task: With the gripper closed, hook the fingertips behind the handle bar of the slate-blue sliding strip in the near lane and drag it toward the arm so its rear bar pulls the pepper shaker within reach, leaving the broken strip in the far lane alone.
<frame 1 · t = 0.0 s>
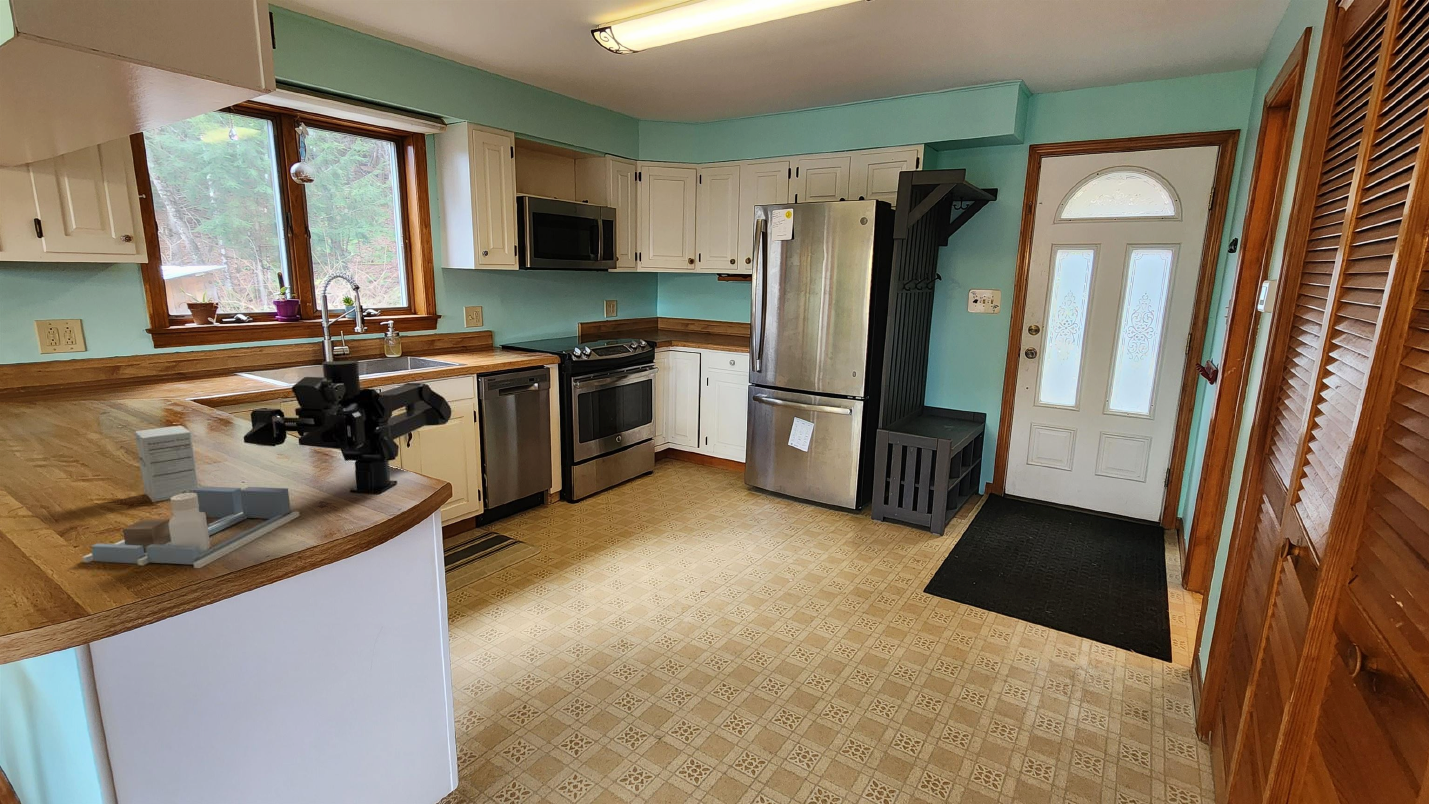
hand: (272, 440, 103), 17 cm above the counter, tool horizontal, fingers open, 9 cm apart
strip b broken: (175, 535, 106), on the counter
lane rails: (201, 536, 105), on the counter
walnut cube: (150, 547, 101), on the counter
pepper shaker: (193, 555, 99), resting in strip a
supplement box: (172, 494, 125), on the counter
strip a: (224, 522, 105), point 3 cm above the counter, slide at 0.0 cm
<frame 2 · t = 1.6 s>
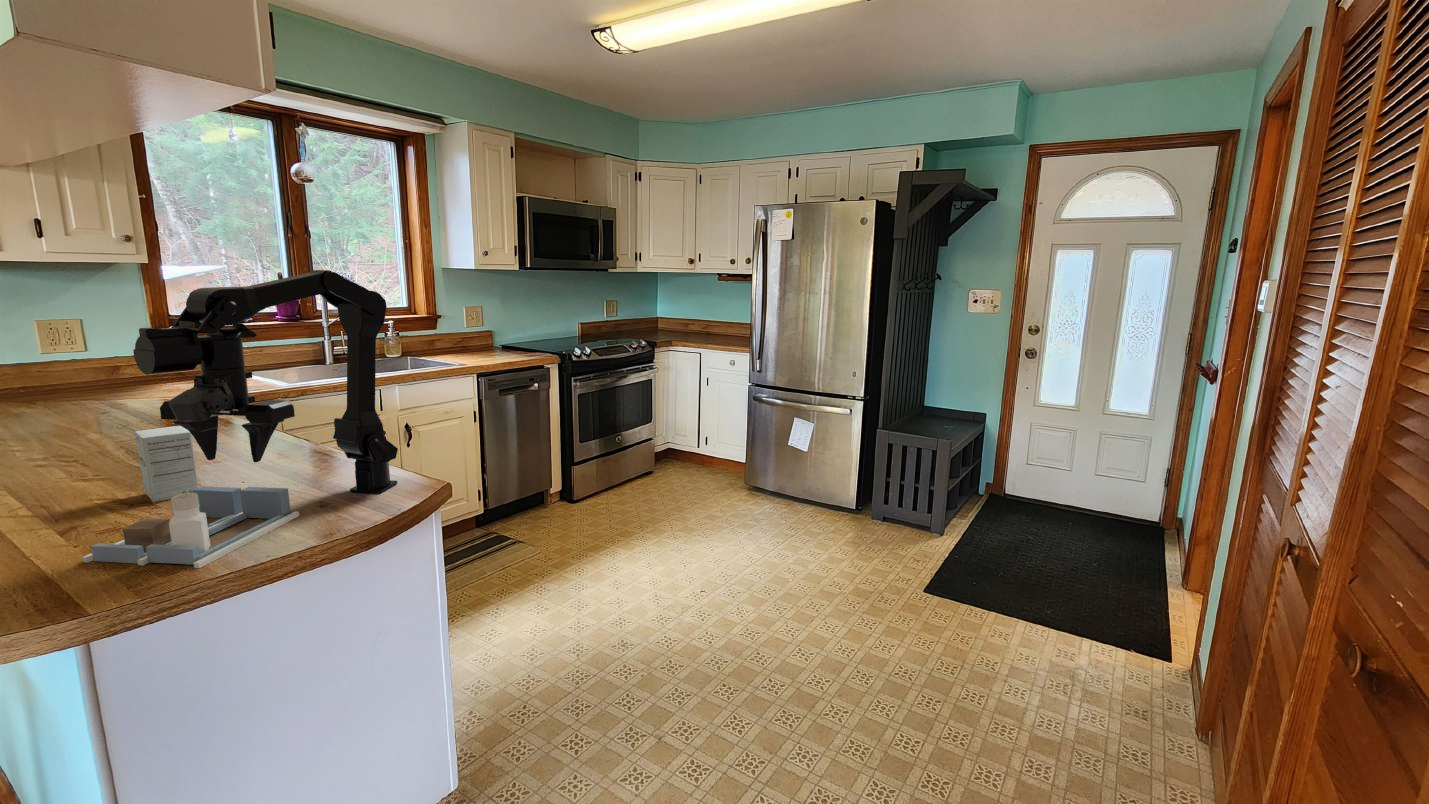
hand: (234, 460, 106), 12 cm above the counter, tool pointing down, fingers open, 8 cm apart
nothing on the counter moved.
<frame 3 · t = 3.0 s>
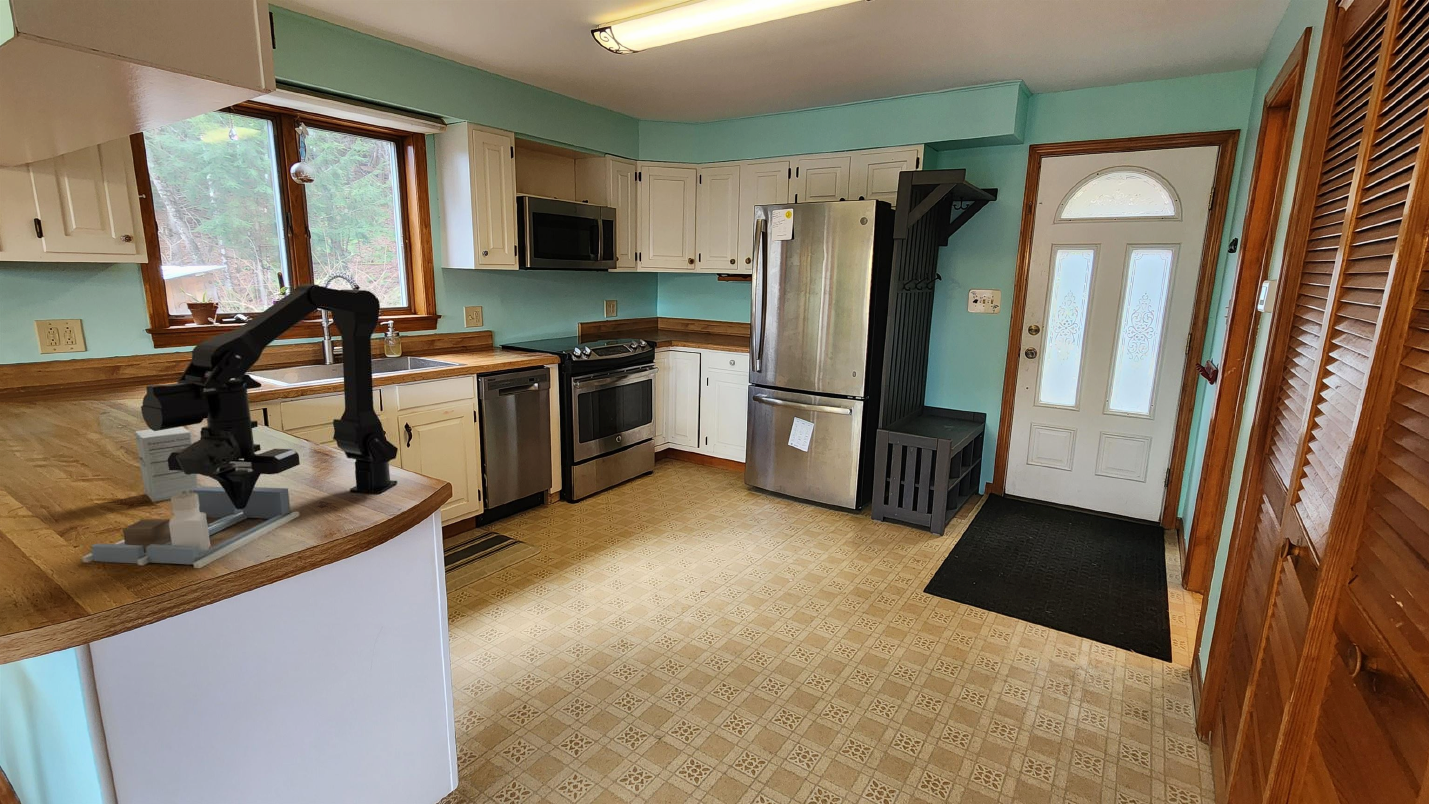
hand: (241, 508, 108), 4 cm above the counter, tool pointing down, fingers closed
nothing on the counter moved.
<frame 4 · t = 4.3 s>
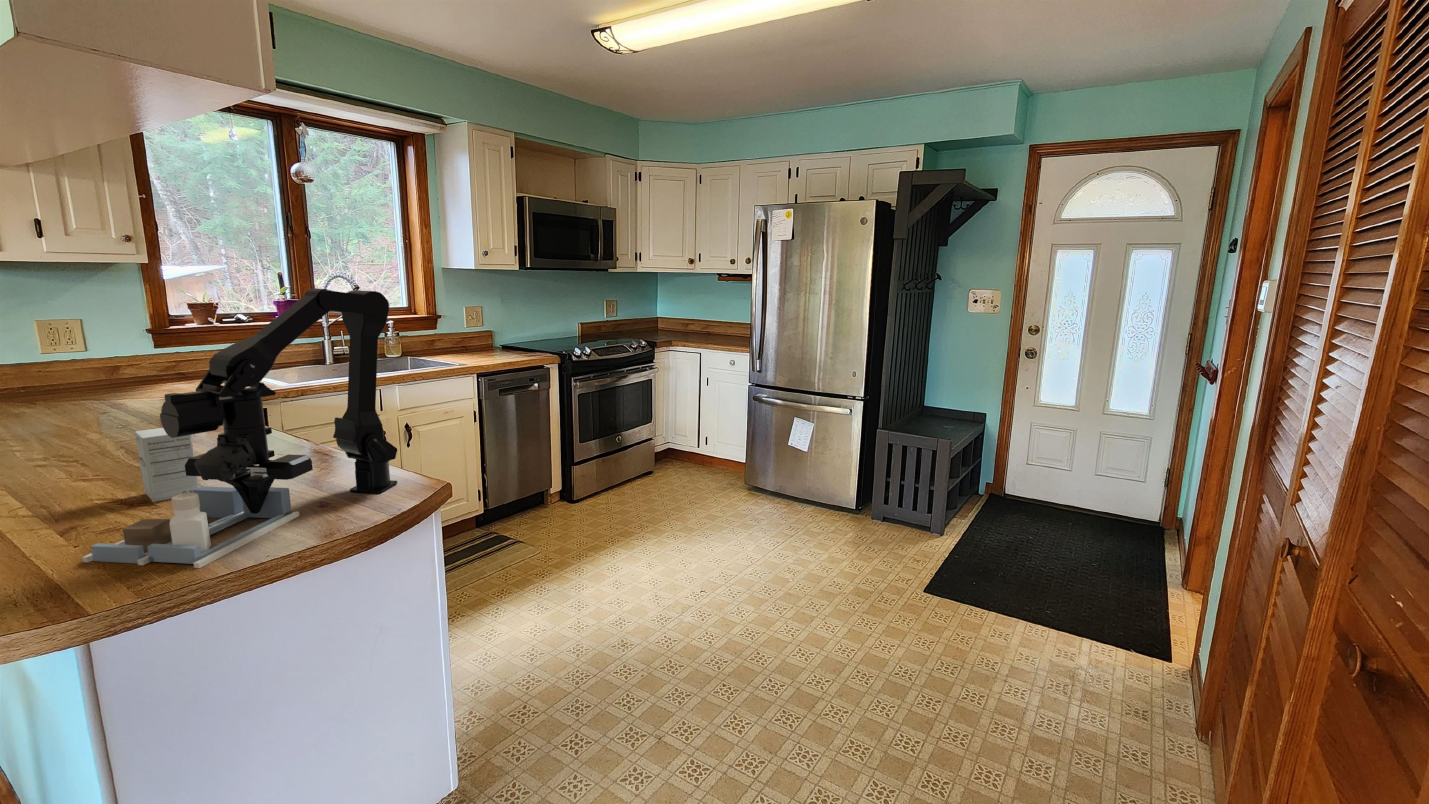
hand: (255, 512, 111), 2 cm above the counter, tool pointing down, fingers closed, pressing on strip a
pepper shaker: (193, 555, 99), resting in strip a
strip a: (225, 521, 105), point 3 cm above the counter, slide at 0.2 cm, touching gripper, pepper shaker
everything else where it was.
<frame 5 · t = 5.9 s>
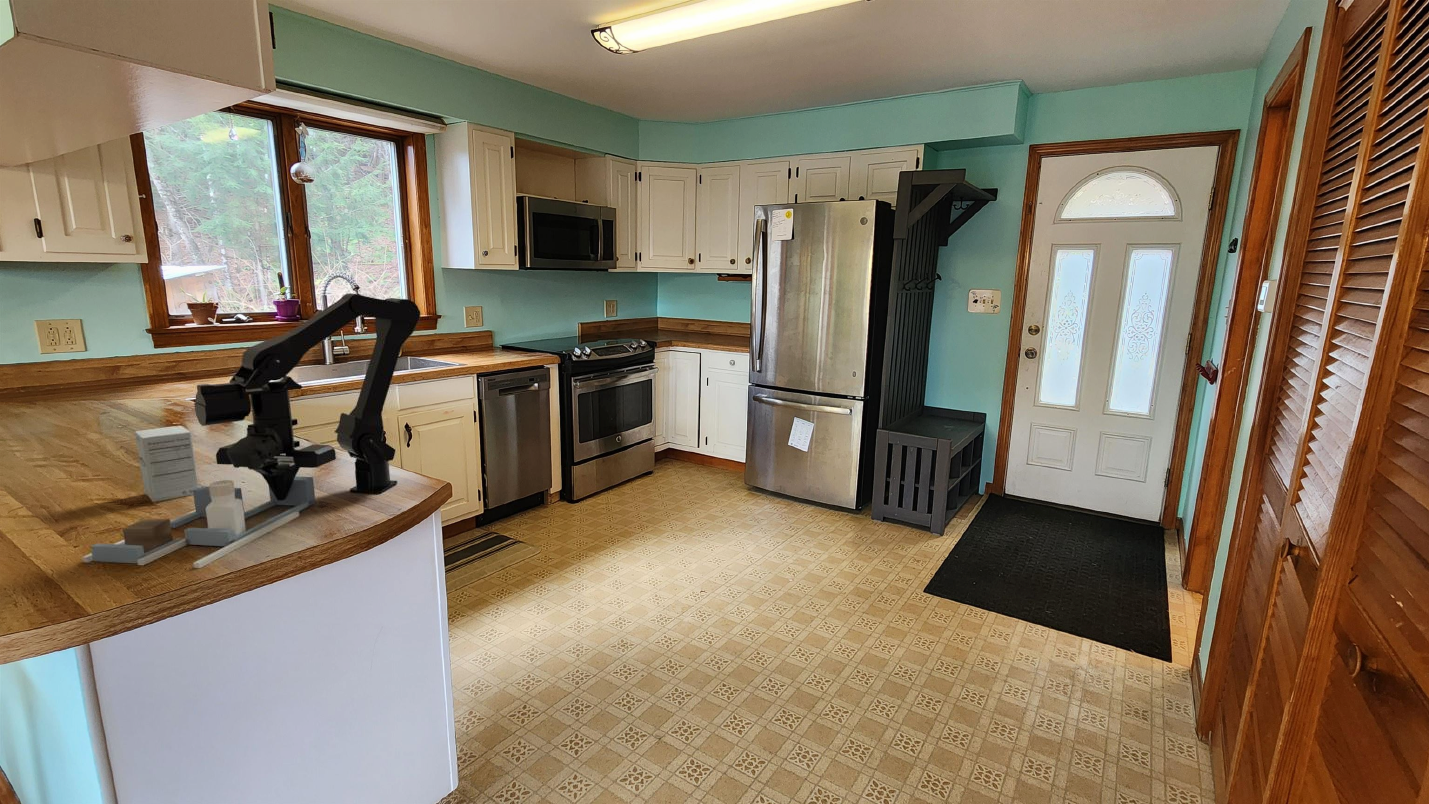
hand: (281, 499, 117), 2 cm above the counter, tool pointing down, fingers closed, pressing on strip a
pepper shaker: (228, 539, 105), resting in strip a
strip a: (254, 507, 111), point 3 cm above the counter, slide at 6.5 cm, touching gripper, pepper shaker
everything else where it was.
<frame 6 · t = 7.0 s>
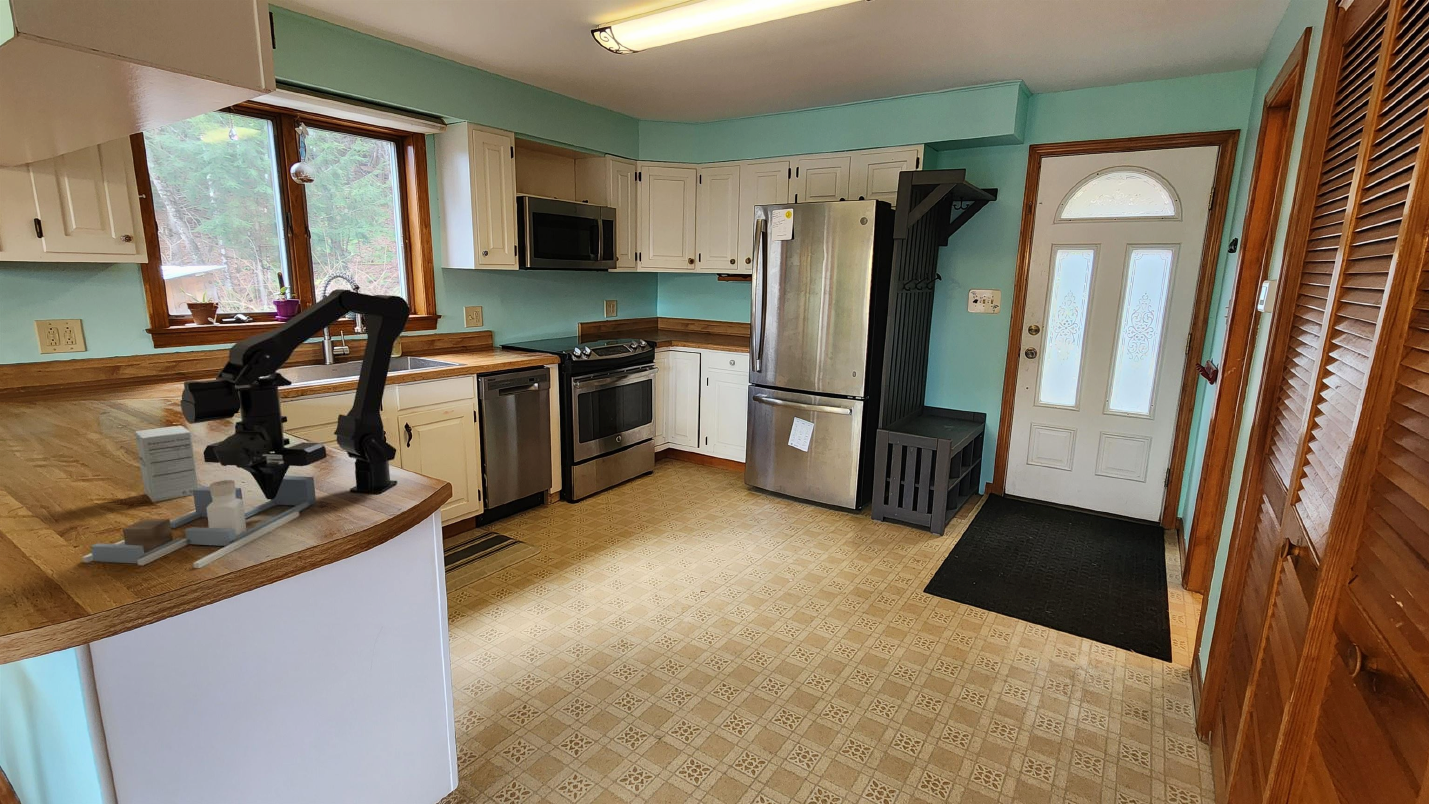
hand: (271, 498, 115), 3 cm above the counter, tool pointing down, fingers closed
pepper shaker: (229, 539, 105), resting in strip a
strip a: (255, 507, 111), point 3 cm above the counter, slide at 6.6 cm
everything else where it was.
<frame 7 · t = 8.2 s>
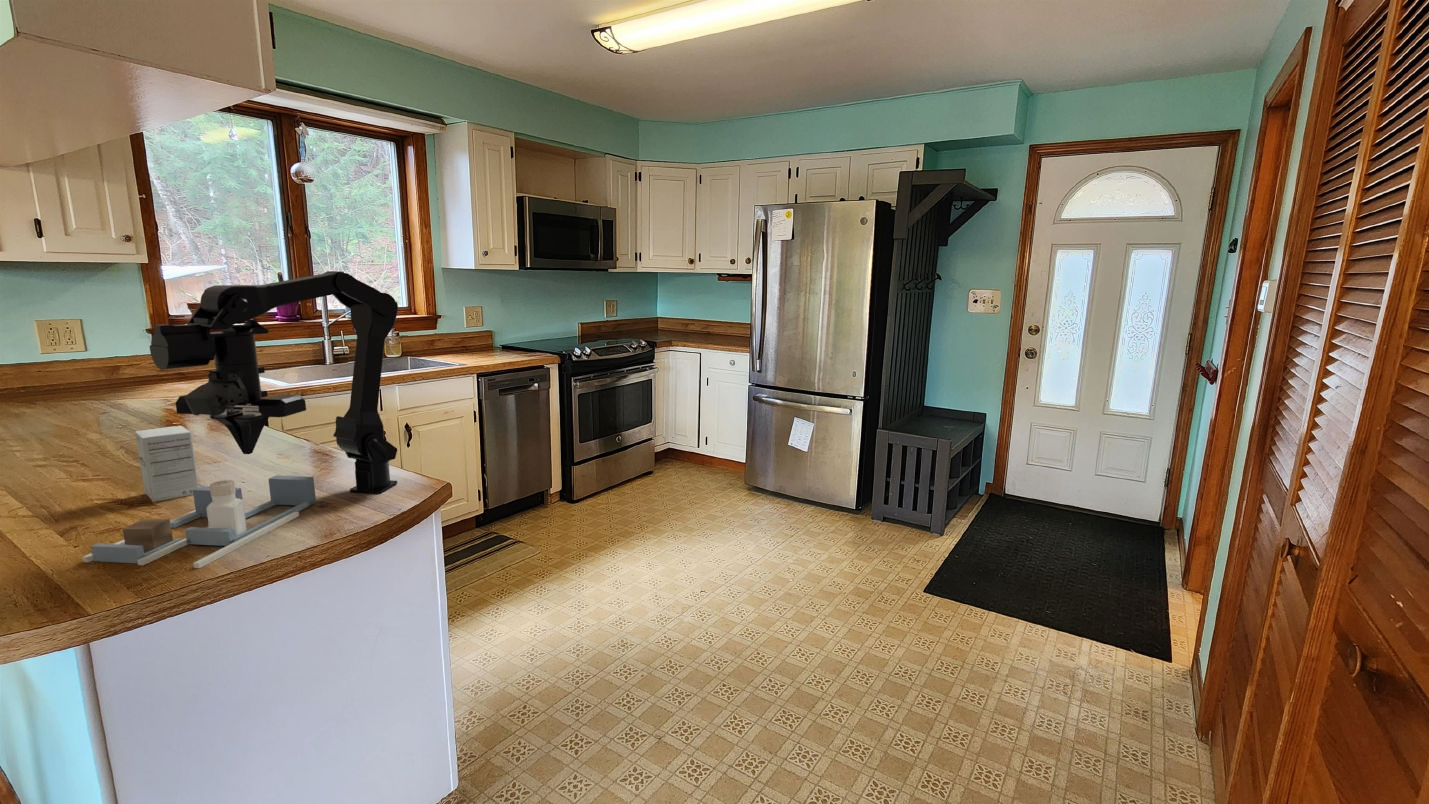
hand: (248, 453, 109), 13 cm above the counter, tool pointing down, fingers closed
nothing on the counter moved.
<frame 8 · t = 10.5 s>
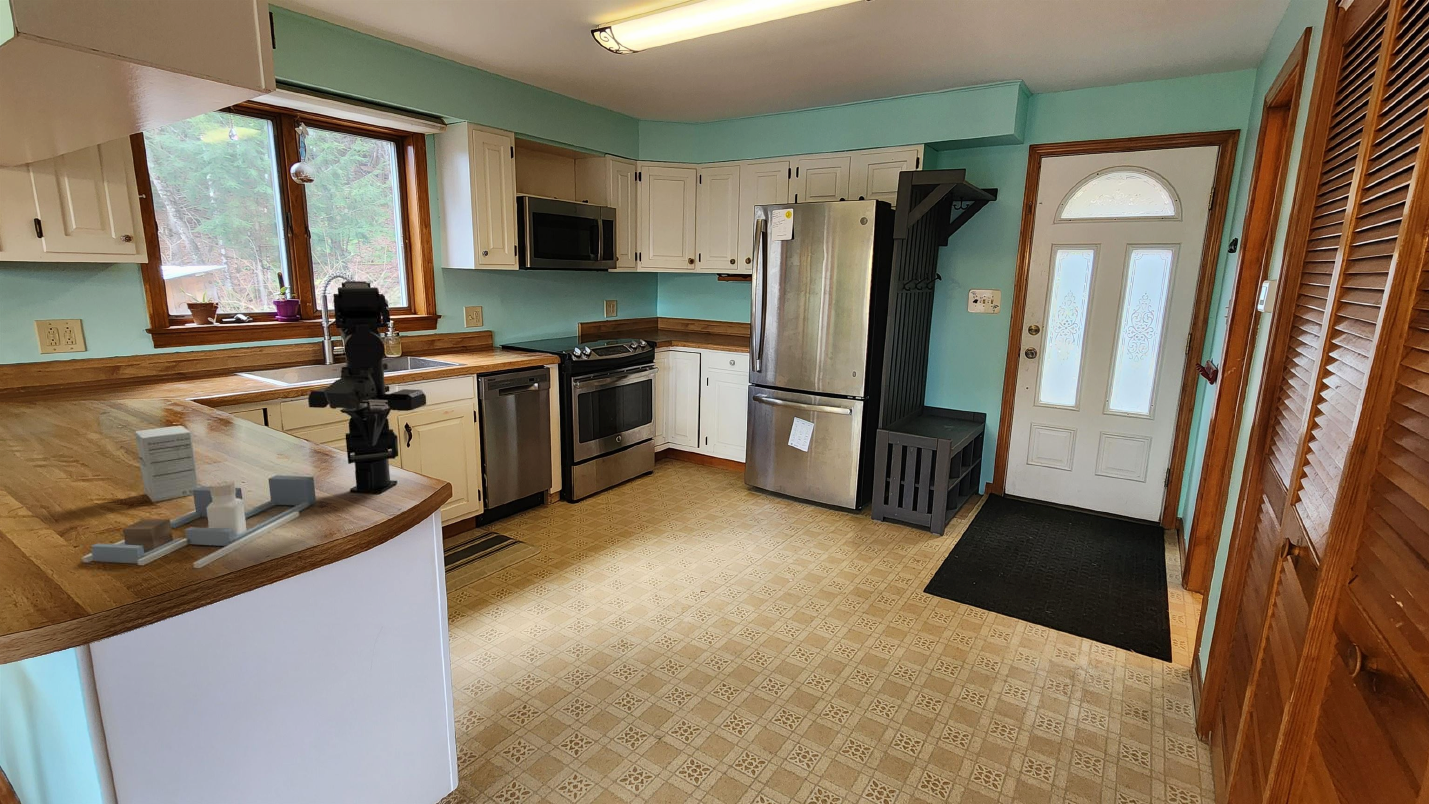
hand: (372, 445, 116), 12 cm above the counter, tool pointing down, fingers closed
nothing on the counter moved.
at the end: pepper shaker inside the target area (0.6 cm from its centre), resting in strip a; pepper shaker tilted 0°; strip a slide at 6.6 cm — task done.
